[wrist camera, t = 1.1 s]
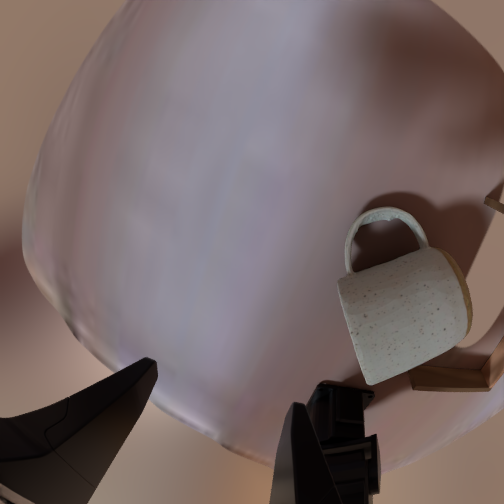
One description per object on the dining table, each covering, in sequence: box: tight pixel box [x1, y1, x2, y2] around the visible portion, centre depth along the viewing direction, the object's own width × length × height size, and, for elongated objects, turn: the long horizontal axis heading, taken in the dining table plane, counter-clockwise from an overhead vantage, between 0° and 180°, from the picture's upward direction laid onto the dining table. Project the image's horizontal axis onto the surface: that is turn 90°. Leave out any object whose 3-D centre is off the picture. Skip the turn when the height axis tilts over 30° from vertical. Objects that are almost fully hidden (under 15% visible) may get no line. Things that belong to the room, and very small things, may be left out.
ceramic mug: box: [337, 206, 473, 385], centre depth 15 cm, size 11×8×8 cm
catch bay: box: [407, 197, 504, 392], centre depth 16 cm, size 17×12×3 cm
